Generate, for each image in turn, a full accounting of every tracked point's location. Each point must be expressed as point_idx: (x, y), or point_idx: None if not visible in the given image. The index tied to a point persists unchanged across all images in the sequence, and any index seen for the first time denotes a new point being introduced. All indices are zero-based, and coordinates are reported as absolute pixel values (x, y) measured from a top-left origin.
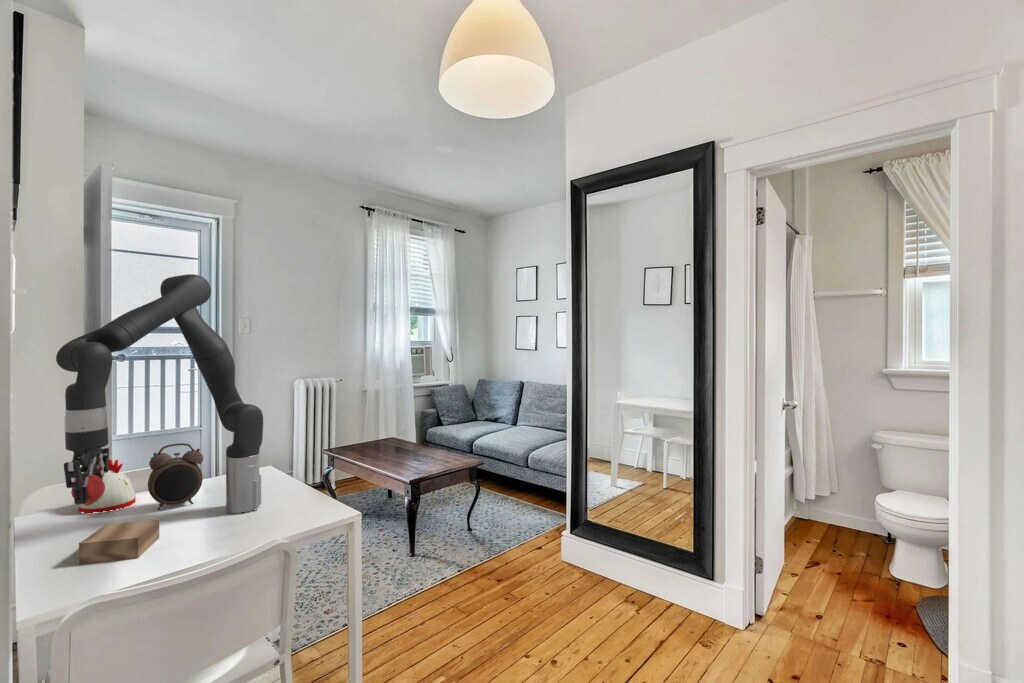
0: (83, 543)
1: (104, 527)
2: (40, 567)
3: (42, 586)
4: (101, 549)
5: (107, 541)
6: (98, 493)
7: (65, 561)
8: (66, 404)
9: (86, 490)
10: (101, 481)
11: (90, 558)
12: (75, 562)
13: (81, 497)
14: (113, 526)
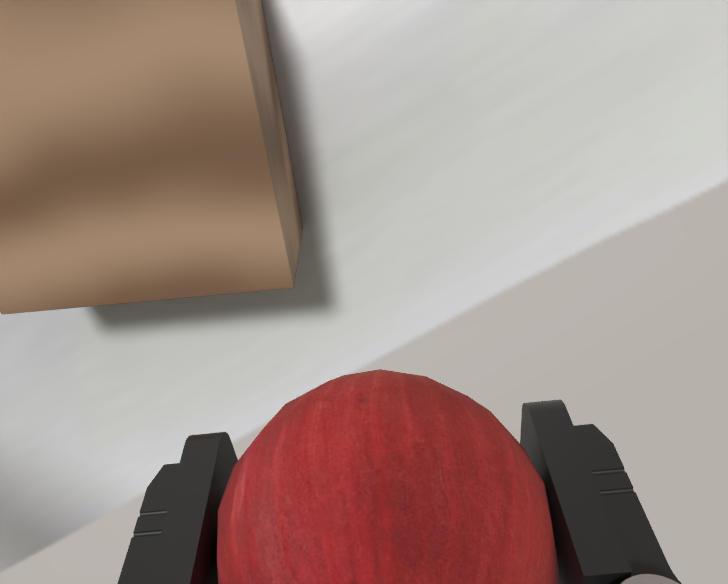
0: (290, 267)
1: (51, 294)
2: (315, 355)
3: (514, 239)
4: (279, 162)
5: (265, 150)
6: (445, 405)
7: (263, 301)
8: None
9: (596, 524)
10: (361, 547)
11: (293, 192)
12: None
13: (624, 474)
14: (30, 254)
